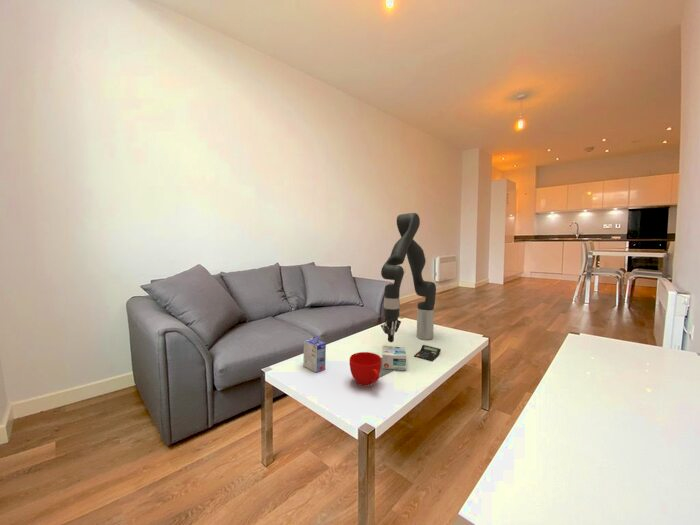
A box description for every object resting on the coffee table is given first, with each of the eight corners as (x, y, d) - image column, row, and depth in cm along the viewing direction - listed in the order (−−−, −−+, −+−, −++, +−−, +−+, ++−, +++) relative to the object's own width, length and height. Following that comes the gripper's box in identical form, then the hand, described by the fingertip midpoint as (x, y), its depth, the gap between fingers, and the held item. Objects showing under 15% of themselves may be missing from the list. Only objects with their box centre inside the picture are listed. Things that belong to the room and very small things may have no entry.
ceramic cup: (361, 398, 109) (362, 372, 108) (344, 377, 124) (344, 354, 123) (392, 391, 114) (392, 366, 113) (371, 372, 129) (372, 350, 128)
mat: (372, 354, 148) (372, 354, 148) (401, 366, 135) (401, 366, 135) (349, 364, 137) (349, 363, 137) (378, 378, 124) (378, 377, 124)
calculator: (413, 357, 146) (414, 351, 146) (422, 349, 155) (423, 344, 155) (432, 362, 140) (432, 356, 140) (440, 354, 150) (440, 348, 149)
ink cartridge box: (326, 369, 132) (326, 337, 130) (316, 373, 128) (316, 341, 126) (312, 362, 138) (312, 332, 137) (302, 366, 134) (302, 335, 133)
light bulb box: (404, 346, 140) (406, 355, 130) (404, 360, 141) (406, 370, 130) (382, 345, 142) (382, 354, 131) (382, 359, 142) (382, 369, 131)
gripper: (394, 303, 148) (393, 336, 150) (376, 307, 139) (375, 342, 141) (406, 305, 143) (405, 340, 144) (389, 310, 133) (388, 347, 135)
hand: (390, 341), depth 142 cm, fingers closed
